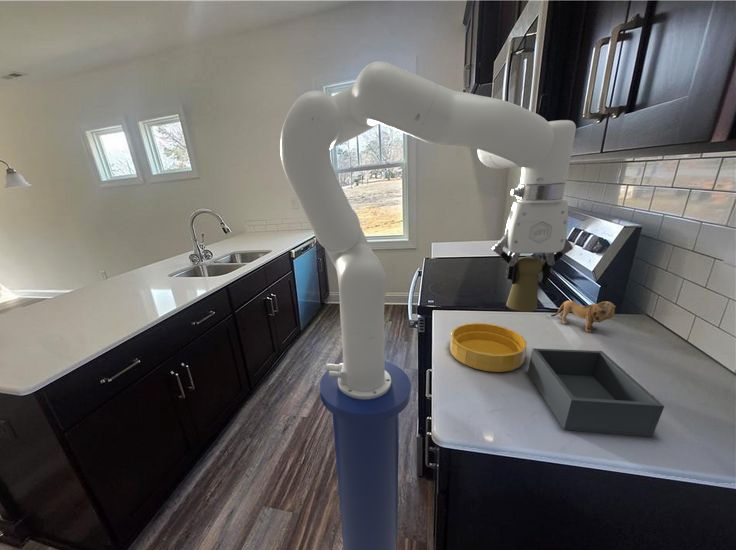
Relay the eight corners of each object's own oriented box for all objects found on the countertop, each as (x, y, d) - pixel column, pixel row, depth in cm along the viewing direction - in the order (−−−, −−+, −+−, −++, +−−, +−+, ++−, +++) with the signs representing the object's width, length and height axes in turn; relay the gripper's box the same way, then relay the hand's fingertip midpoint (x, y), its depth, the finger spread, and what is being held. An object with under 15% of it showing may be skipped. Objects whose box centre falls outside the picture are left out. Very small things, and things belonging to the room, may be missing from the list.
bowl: (455, 370, 76) (457, 354, 74) (446, 336, 91) (447, 322, 90) (534, 374, 72) (538, 357, 71) (510, 338, 88) (513, 323, 86)
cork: (512, 311, 68) (520, 262, 64) (502, 301, 73) (508, 255, 69) (542, 311, 67) (552, 261, 63) (529, 301, 73) (538, 254, 69)
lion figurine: (611, 331, 88) (620, 301, 85) (604, 337, 86) (613, 306, 82) (553, 315, 100) (559, 288, 96) (545, 320, 97) (551, 292, 94)
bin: (563, 429, 57) (571, 400, 54) (527, 373, 73) (532, 348, 70) (652, 437, 54) (664, 406, 52) (594, 376, 70) (601, 350, 68)
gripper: (499, 197, 60) (488, 288, 66) (601, 192, 57) (579, 287, 63) (488, 194, 66) (479, 277, 73) (579, 190, 63) (561, 276, 70)
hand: (525, 281), depth 68 cm, fingers closed on cork, 5 cm apart
